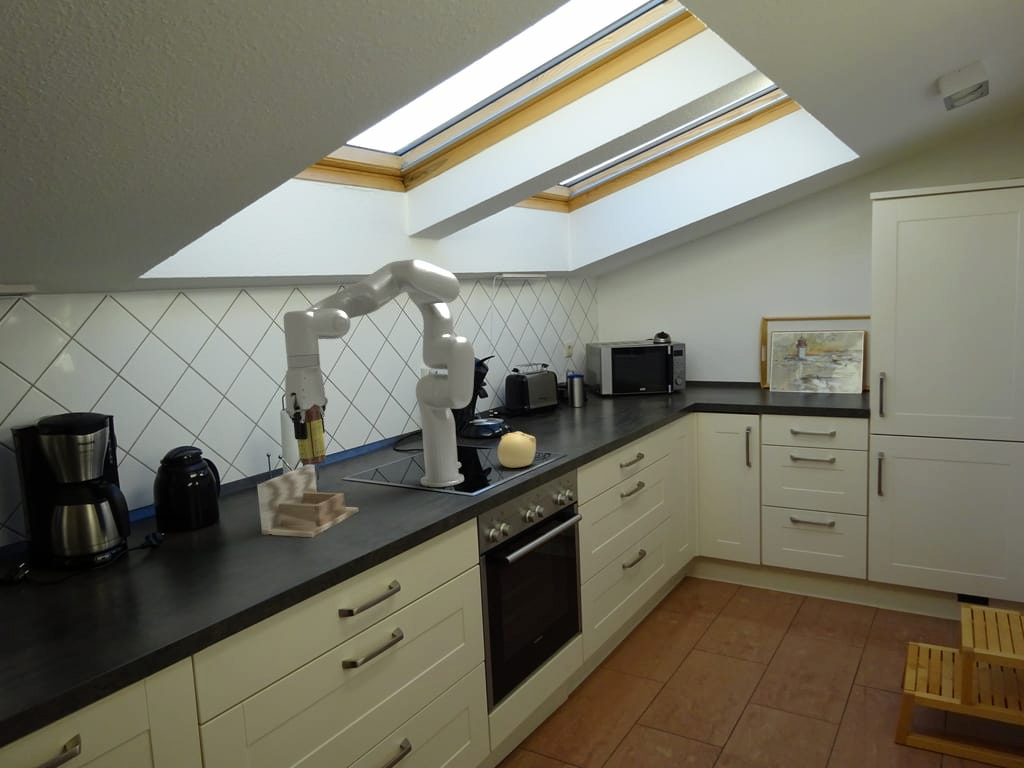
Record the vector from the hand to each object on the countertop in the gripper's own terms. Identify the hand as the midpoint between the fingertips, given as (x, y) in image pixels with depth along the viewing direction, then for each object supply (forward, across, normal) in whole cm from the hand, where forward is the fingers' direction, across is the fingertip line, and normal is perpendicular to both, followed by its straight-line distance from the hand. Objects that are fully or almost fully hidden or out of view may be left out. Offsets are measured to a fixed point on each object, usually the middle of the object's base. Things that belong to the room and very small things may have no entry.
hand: (310, 435), depth 172 cm
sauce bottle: (+7, 0, 0) cm, 7 cm away
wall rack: (+22, 0, -2) cm, 22 cm away
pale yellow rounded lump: (+22, -61, +31) cm, 72 cm away
